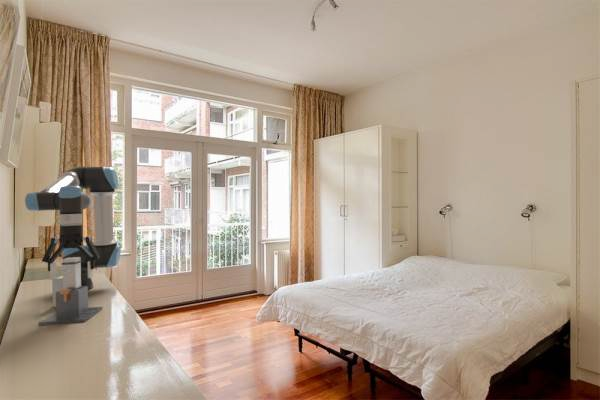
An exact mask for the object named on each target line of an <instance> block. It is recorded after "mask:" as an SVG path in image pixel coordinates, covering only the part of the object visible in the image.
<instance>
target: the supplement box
mask: <svg viewBox="0 0 600 400" xmlns="http://www.w3.org/2000/svg"><path fill="white" fill-rule="evenodd" d="M51 281H52V282H51V283H52V307H53V308H56V292H57V291H59V290H61V289H63V275H60V276H56V279H54V280H51Z"/></svg>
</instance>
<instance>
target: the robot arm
mask: <svg viewBox="0 0 600 400" xmlns="http://www.w3.org/2000/svg"><path fill="white" fill-rule="evenodd" d="M118 187H119V179H118V175H117V172H116V170H115V169H114V167H111V166H110V167H109V166H77V167H73V168H71V169H68V170H66V171H64V172H61V173H60V174H59V175H58V176H57V179H56V180H55V181H53V182H51V183H50V184H49V185H48V186H46V187H45V188H44V189H42V190H41V191H39V192H29V193H27V194H26V195H25V198H24V203H25V208H26V209H27V210H29V211H36V212H39V211H40V212H41V211H44V212H45V211H59V225H60V226H59V237H56V236H55V237H51V238H50V243H49V246H48V247H47V249H46V252H45V254H44V255H43V257H42V260H41V261H42V263H47V271H48V272H50V276H49V277H50V281H52V280H54V279H56V277H57V262H55V260H56V259H57V258H58V257H59V256H60V255H61V254H62V256H61V257H62V260H63V259H65V258H71V257H81V260H82V262H81V286H88V290H91V289H93V288H94V282H93V279H92V278H93V277H94V273H93V272H94V270H95V269H100V268H101V269H102V268H114V267H117V265H118V264H119V262H120V258H121V251H122V249H121V245H120V244H118V242H117V240H115V238H114V222H113V221H114V220H113V218H114V217H113V197H112V196H113V194H115V193H116V191H115V190H116V189H118ZM83 190H89V193H90V194H91V195H92V196H93V215H94V216H93V218H94V219H93V222H94V238H95V239H94V241H92V236H90V235H89V236H86V237H85V236H83V225H82V224H83V210H85V209H88V208H89V207H90V205H91V203H92V199H91V198H92V197H91V196H90V195H89V194H88V193H85V192H83ZM83 241H84V244H83ZM58 243H60V245H59V246H58V247H57V244H58ZM56 247H57V249H56V251H54V250H55V248H56ZM53 252H54V253H53Z"/></svg>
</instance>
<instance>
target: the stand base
mask: <svg viewBox="0 0 600 400" xmlns="http://www.w3.org/2000/svg"><path fill="white" fill-rule="evenodd" d="M88 291H89V289H88V286H81V288H80V289H78V290H71V289H65V290H63V289H61V290H59V291H57V292H56V307H55V312H54V313H52V314H50V315H49V316H47V317H45V318H44V319H43V320H41V321H39V322H38V326H46V325H47V326H49V325H60V324H61V325H62V324H74V323H76V324H77V323H86V322H88V321H89V320H90V319H91V318H93V317H94V316H95V315H97V314H98V313H99V312H100V311H102V310H103V306H93V307H92V306H90V307H89V297H88V296H89V294H88V293H89V292H88Z"/></svg>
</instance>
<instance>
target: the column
mask: <svg viewBox="0 0 600 400" xmlns="http://www.w3.org/2000/svg"><path fill="white" fill-rule="evenodd" d="M81 262H82V260H81V257H71V258H65V259H63V258H62V262H61V266H62V276H63V290H65V289H71V290H78V289H80V288H81Z"/></svg>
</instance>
